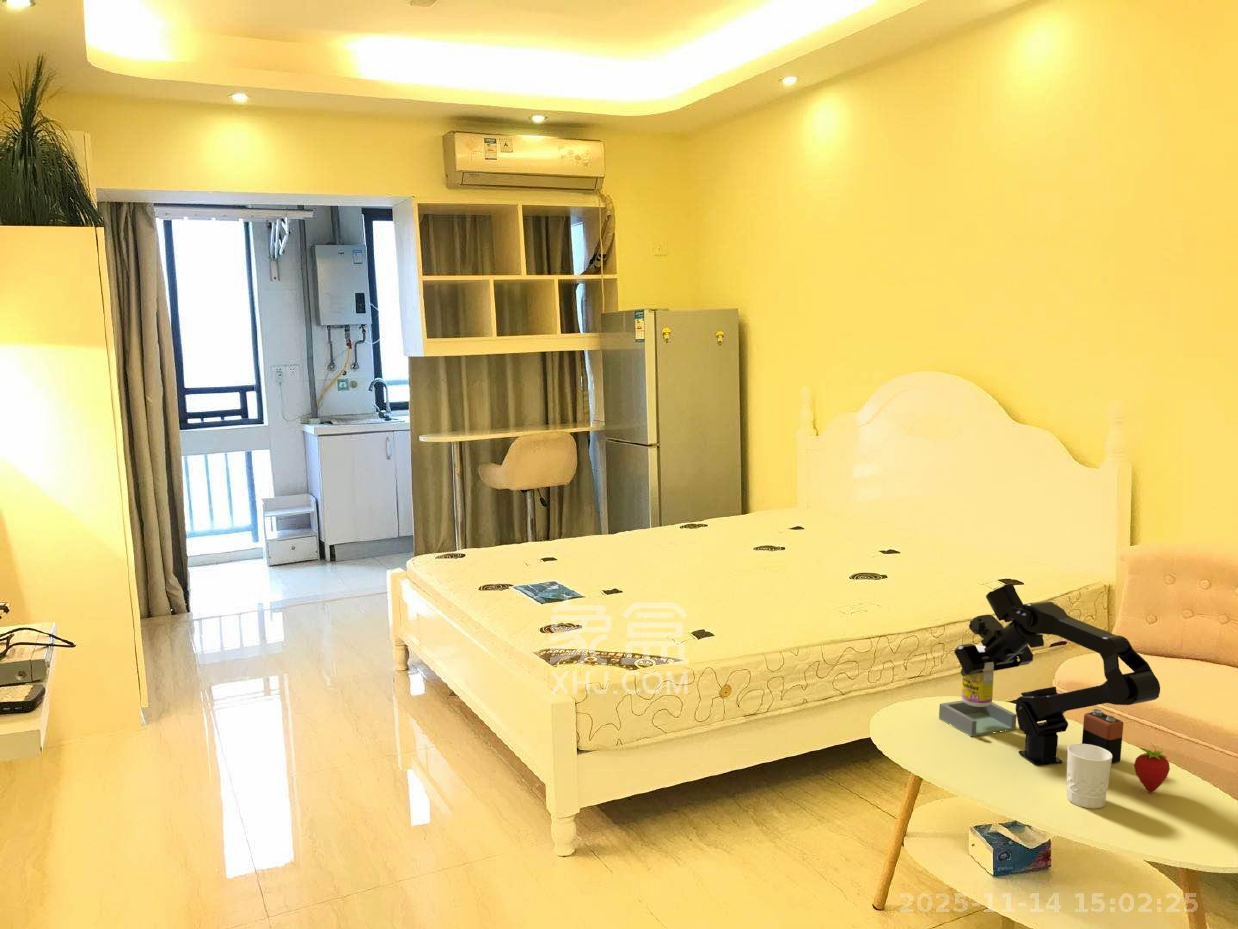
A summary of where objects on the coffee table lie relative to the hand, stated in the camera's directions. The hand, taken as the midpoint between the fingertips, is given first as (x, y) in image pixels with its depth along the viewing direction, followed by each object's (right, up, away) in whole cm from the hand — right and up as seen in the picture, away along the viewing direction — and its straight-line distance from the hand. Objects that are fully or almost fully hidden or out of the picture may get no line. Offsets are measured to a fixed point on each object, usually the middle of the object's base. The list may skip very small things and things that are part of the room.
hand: (973, 672), depth 234 cm
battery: (+21, -15, -16) cm, 31 cm away
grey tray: (+1, -12, +1) cm, 12 cm away
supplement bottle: (+1, -7, 0) cm, 7 cm away
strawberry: (+24, -17, -32) cm, 43 cm away
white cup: (+9, -18, -36) cm, 41 cm away
